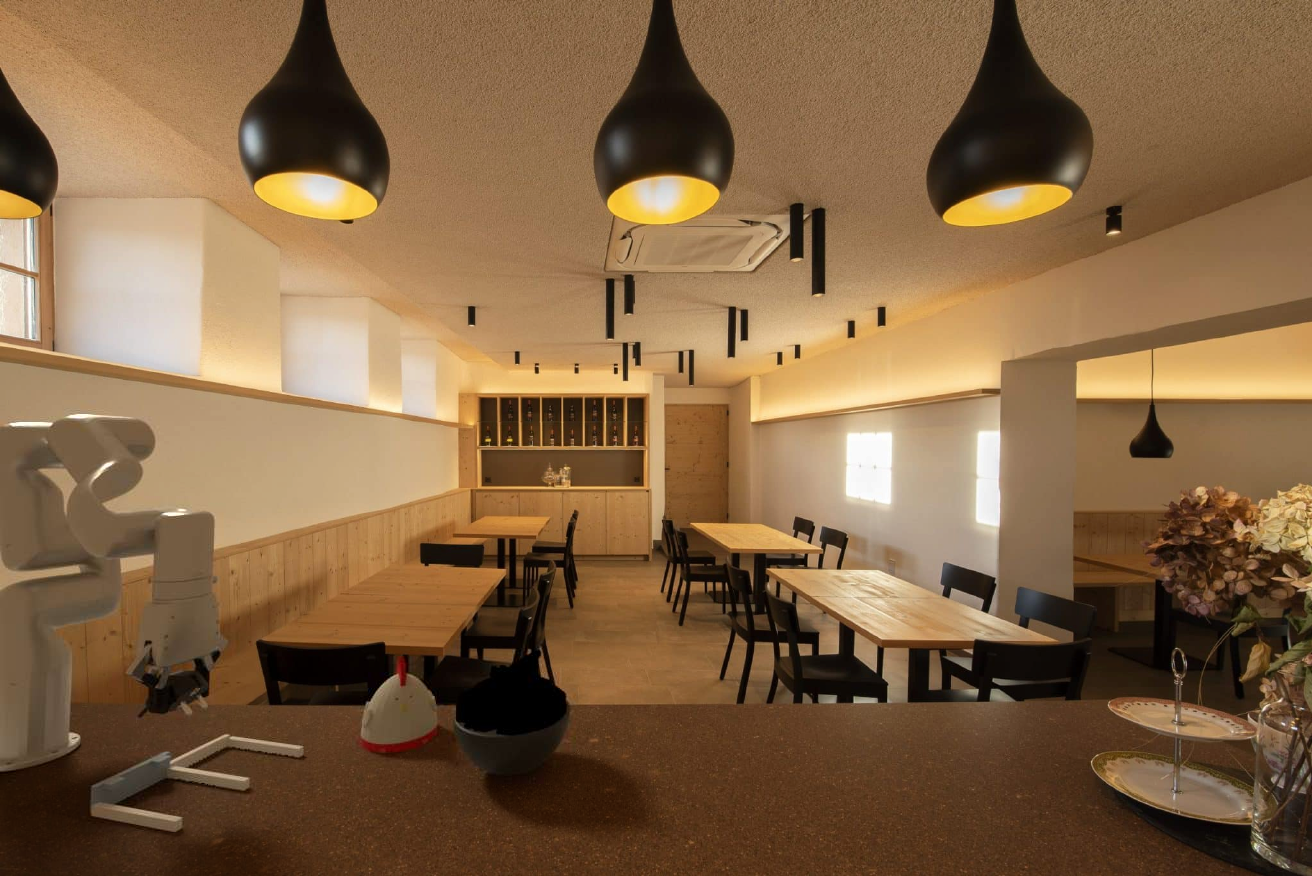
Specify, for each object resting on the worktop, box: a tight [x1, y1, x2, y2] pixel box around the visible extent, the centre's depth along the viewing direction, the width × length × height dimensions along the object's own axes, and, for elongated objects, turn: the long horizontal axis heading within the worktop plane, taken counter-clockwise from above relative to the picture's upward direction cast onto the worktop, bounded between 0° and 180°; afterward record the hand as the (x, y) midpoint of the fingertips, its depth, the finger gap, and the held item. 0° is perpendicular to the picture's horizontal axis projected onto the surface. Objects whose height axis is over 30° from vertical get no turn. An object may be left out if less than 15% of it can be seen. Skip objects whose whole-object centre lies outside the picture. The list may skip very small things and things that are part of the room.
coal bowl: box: [453, 649, 572, 777], centre depth 105 cm, size 20×20×19 cm
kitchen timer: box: [359, 656, 439, 754], centre depth 117 cm, size 14×14×15 cm
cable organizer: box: [89, 733, 304, 833], centre depth 99 cm, size 17×23×4 cm
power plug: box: [137, 669, 210, 719], centre depth 94 cm, size 6×8×12 cm
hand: (179, 703), depth 94 cm, fingers closed on power plug, 5 cm apart
